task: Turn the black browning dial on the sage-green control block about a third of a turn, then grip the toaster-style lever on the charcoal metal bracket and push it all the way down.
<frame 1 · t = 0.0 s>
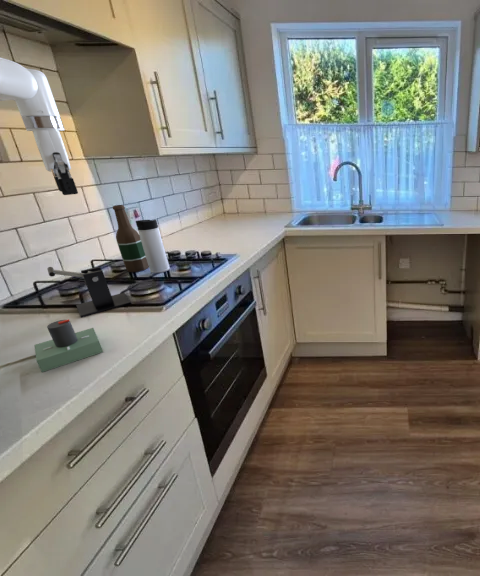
hand: (68, 192, 100), 32 cm above the countertop, tool pointing down, fingers open, 9 cm apart
travel mug: (160, 273, 133), on the countertop
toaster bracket: (105, 307, 107), on the countertop
beer bottle: (138, 269, 137), on the countertop
toaster lever: (75, 274, 100), point 12 cm above the countertop, hinge at 25.0°
dial block: (71, 353, 84), on the countertop
browning dial: (62, 332, 82), point 6 cm above the countertop, hinge at 0.0°
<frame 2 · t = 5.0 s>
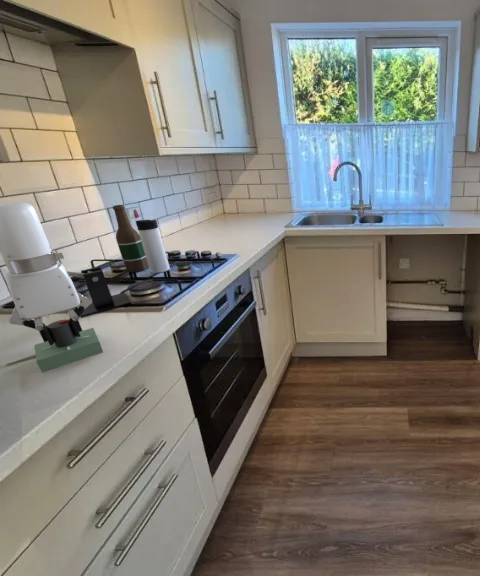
hand: (64, 338, 83), 4 cm above the countertop, tool pointing down, fingers closed on browning dial, 4 cm apart
browning dial: (62, 332, 82), point 6 cm above the countertop, hinge at 0.0°, touching gripper
everything else where it was.
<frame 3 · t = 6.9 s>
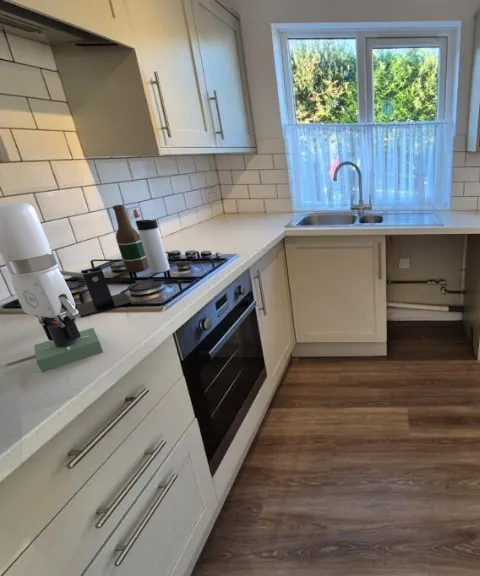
hand: (64, 338, 83), 4 cm above the countertop, tool pointing down, fingers closed on browning dial, 4 cm apart
browning dial: (62, 332, 82), point 6 cm above the countertop, hinge at 120.1°, touching gripper
everything else where it was.
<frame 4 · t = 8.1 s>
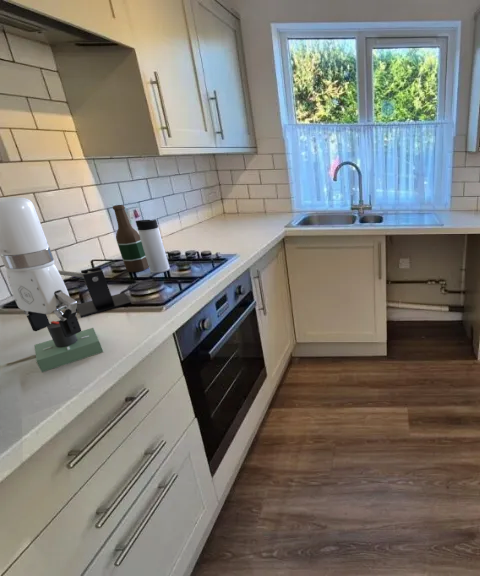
hand: (57, 331, 81), 6 cm above the countertop, tool pointing down, fingers open, 9 cm apart
browning dial: (62, 332, 82), point 6 cm above the countertop, hinge at 118.9°
everything else where it was.
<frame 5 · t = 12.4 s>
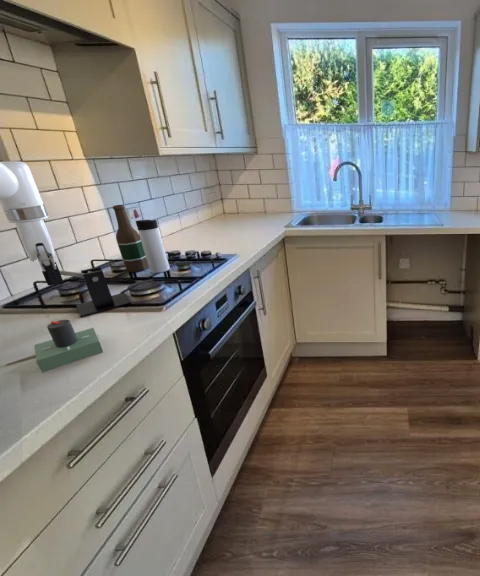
hand: (54, 280, 97), 11 cm above the countertop, tool pointing down, fingers closed on toaster lever, 6 cm apart
toaster lever: (75, 274, 100), point 12 cm above the countertop, hinge at 25.0°, touching gripper
everything else where it was.
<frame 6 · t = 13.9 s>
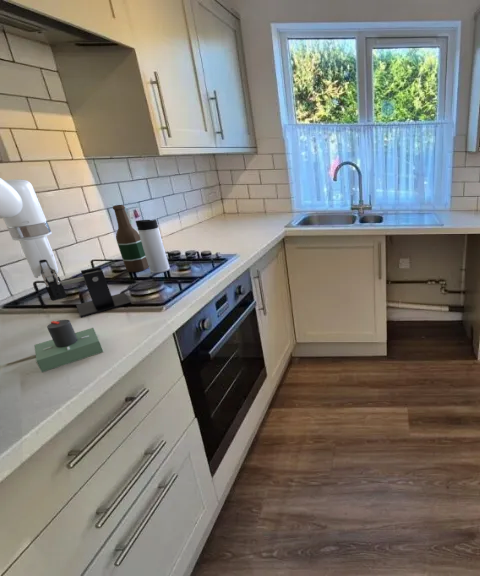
hand: (58, 294, 98), 7 cm above the countertop, tool pointing down, fingers closed on toaster lever, 6 cm apart
toaster lever: (75, 280, 100), point 10 cm above the countertop, hinge at 0.3°, touching gripper
everything else where it was.
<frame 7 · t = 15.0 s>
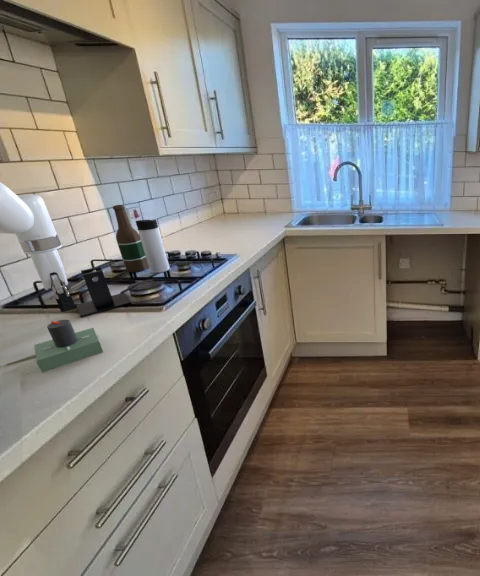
hand: (67, 305, 100), 4 cm above the countertop, tool pointing down, fingers closed on toaster lever, 6 cm apart
toaster lever: (79, 285, 101), point 8 cm above the countertop, hinge at -22.4°, touching gripper
everything else where it was.
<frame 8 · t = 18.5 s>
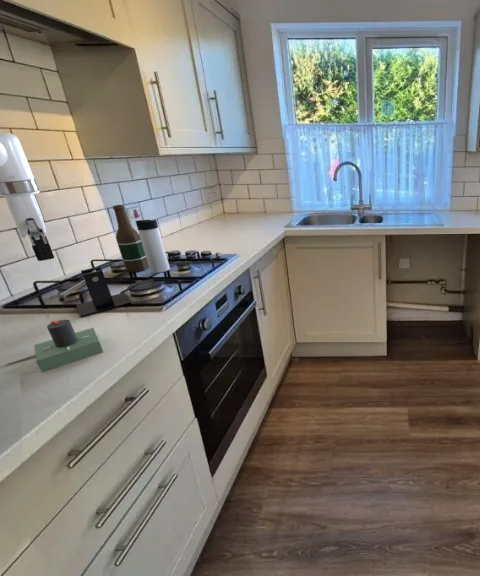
hand: (45, 255, 94), 18 cm above the countertop, tool pointing down, fingers open, 9 cm apart
toaster lever: (79, 285, 101), point 8 cm above the countertop, hinge at -22.8°
everything else where it was.
at the end: browning dial at +119° (first picture: +0°); toaster lever at -23° (first picture: +25°) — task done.
